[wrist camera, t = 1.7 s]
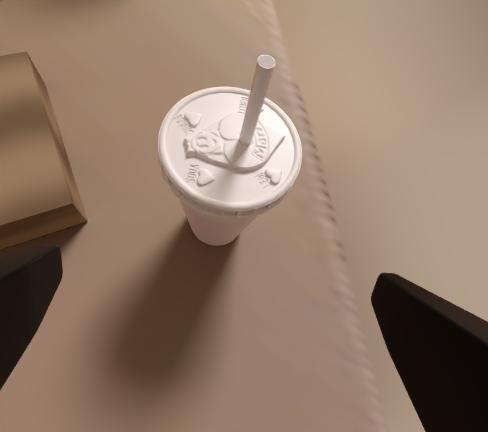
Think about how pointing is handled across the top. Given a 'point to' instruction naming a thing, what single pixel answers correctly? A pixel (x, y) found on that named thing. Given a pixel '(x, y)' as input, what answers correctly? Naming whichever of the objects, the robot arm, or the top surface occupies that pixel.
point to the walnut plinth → (32, 159)
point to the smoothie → (229, 156)
